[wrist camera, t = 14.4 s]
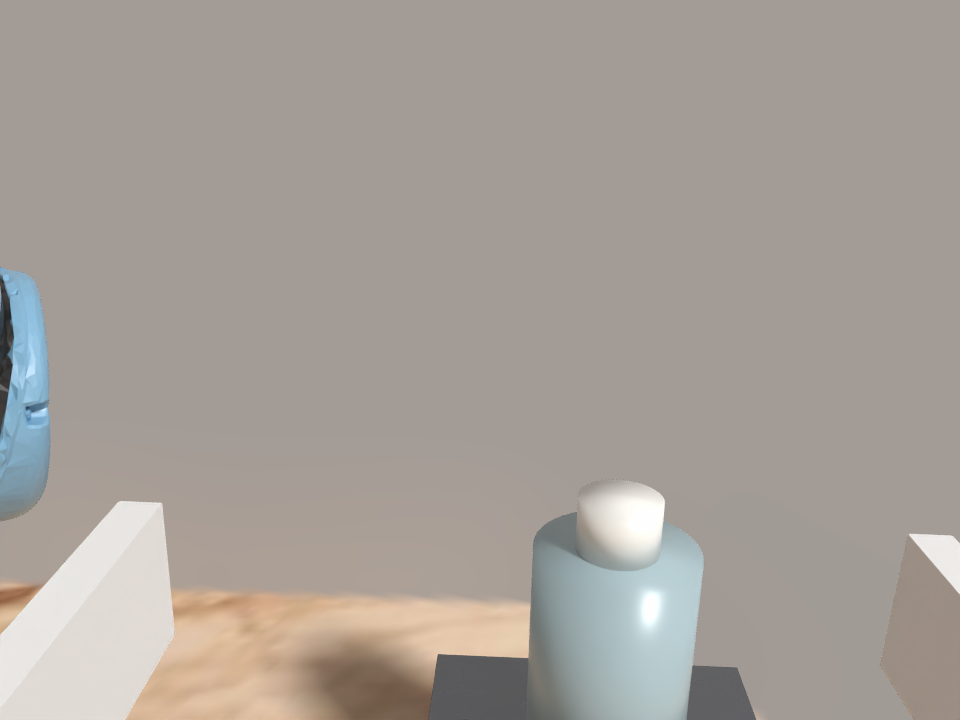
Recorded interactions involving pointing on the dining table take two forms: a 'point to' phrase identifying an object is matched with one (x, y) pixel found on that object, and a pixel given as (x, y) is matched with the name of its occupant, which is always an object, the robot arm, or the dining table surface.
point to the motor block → (503, 690)
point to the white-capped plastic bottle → (613, 610)
